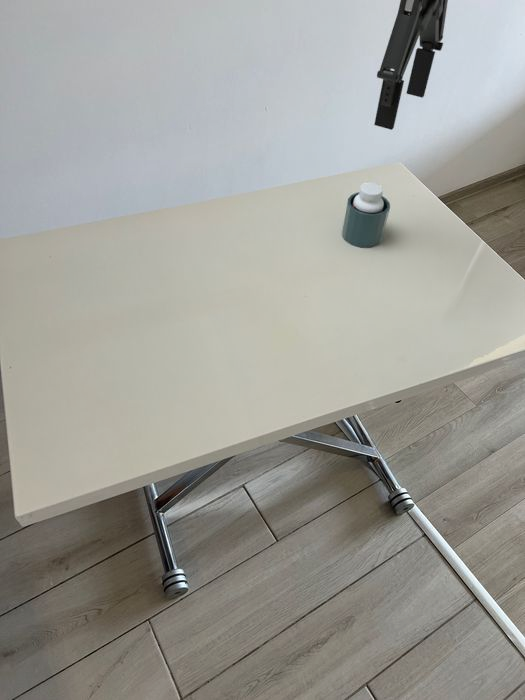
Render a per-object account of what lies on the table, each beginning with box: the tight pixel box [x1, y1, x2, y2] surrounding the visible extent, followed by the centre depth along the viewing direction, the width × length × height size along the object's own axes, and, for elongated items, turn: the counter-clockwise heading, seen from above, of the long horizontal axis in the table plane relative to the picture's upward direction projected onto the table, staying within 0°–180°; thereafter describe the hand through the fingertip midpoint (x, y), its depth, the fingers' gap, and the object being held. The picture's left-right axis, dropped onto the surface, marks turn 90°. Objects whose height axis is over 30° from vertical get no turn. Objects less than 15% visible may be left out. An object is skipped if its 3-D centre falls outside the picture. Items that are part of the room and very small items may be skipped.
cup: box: [341, 191, 391, 249], centre depth 98 cm, size 8×8×7 cm
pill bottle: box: [353, 181, 384, 214], centre depth 97 cm, size 5×5×10 cm
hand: (400, 110), depth 81 cm, fingers open, 13 cm apart
